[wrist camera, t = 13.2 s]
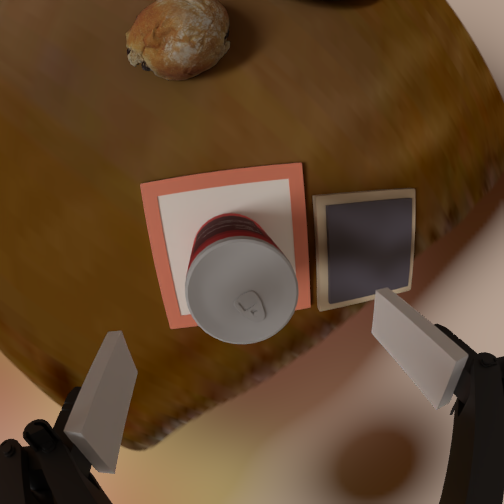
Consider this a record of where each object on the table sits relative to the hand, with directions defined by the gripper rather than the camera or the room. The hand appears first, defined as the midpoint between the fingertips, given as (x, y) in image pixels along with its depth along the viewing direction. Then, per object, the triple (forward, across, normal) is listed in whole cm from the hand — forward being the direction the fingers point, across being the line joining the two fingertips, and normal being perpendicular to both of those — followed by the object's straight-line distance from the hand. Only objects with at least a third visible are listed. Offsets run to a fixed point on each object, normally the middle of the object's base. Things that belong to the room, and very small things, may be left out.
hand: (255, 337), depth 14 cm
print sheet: (+17, 0, -1) cm, 17 cm away
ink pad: (+17, +15, -3) cm, 23 cm away
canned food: (+17, 0, -1) cm, 17 cm away
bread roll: (+18, -3, +22) cm, 28 cm away
